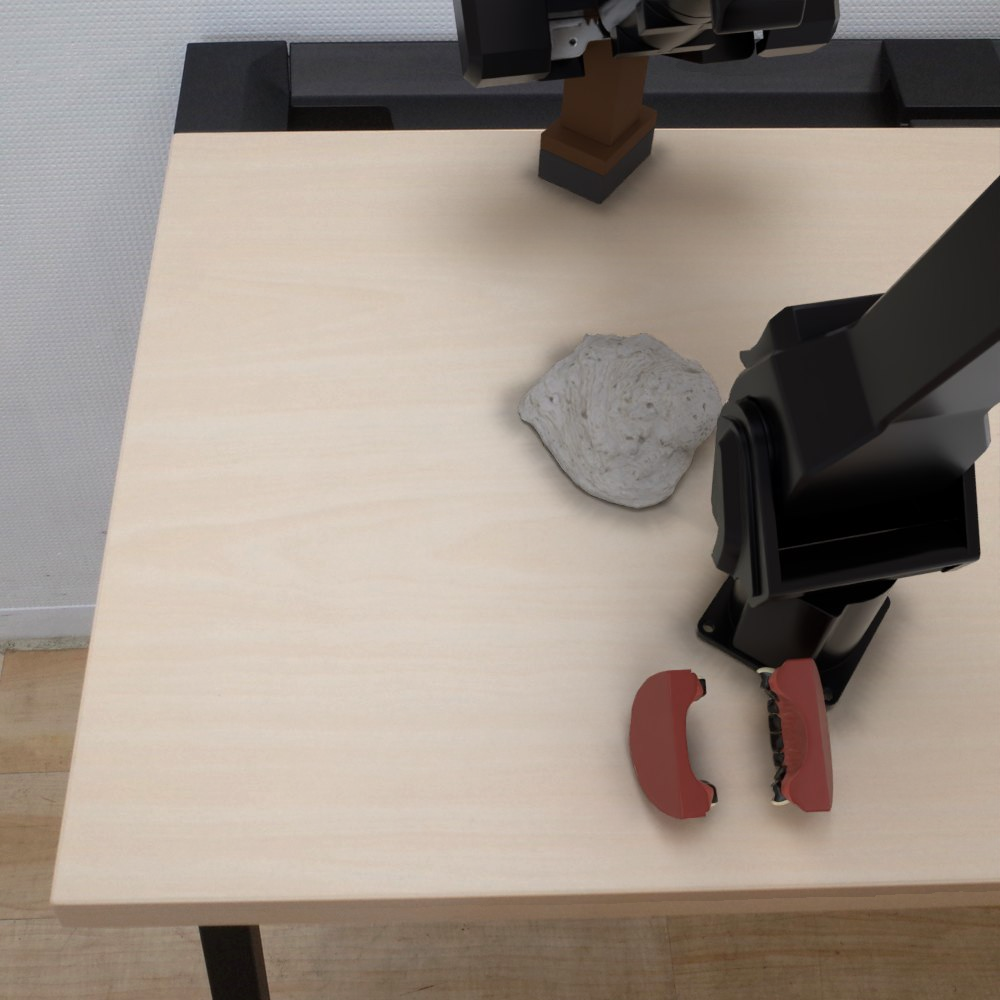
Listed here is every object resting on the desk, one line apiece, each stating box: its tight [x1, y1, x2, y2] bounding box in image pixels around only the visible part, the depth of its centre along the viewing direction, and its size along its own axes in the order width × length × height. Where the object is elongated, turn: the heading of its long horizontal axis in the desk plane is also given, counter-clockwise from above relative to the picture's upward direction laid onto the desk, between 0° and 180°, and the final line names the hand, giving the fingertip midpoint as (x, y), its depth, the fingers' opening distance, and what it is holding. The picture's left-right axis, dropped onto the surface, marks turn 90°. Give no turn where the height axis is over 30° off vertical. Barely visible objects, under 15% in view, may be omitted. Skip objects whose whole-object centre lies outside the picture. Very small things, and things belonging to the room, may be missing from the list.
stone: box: [517, 332, 723, 510], centre depth 53 cm, size 10×5×10 cm
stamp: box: [537, 16, 659, 205], centre depth 61 cm, size 6×4×13 cm
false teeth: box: [628, 658, 834, 820], centre depth 42 cm, size 6×4×8 cm
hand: (601, 44), depth 61 cm, fingers closed on stamp, 5 cm apart
